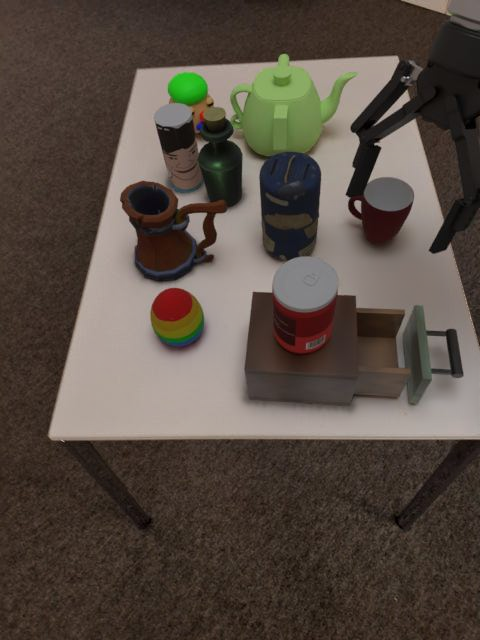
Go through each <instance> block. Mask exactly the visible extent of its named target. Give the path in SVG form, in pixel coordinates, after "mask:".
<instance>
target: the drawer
mask: <svg viewBox="0 0 480 640" xmlns="http://www.w3.org/2000/svg"><path fill="white" fill-rule="evenodd" d="M356 312H357V341H358V370H359V377H358V380H357V383H356V387H355V390H354V393H353V395H363V396H376V397H377V396H381V397H393V398H394V397H396V398H400V397H401V395H402V393H403V392H404V389H405V387H406V385H407V393H408V403H409V404H416V405H417V404H419V402H420V401H421V400H422V398H423V396H424V394H425V393H426V391H427V389H428V387H429V386H430V384H431V382H432V380H433V375H440V376H441V375H443V376H451V378H454V379H461V378H463V377H464V375H465V374H464V368H463V361H462V355H461V349H460V344H459V338H458V332H457V329H456V328H448V329H446V330H430V329H429V330H428V329H427V325H426V318H425V309H424V305H421V304H420V305H419V304H414V306H413V307H412V309H411V313H410V315H409V318H408V320H407V323H406V325H405V328H404V330H403V333H402V340H403V351H404V360H405V367H399V358H398V347H397V336H398V334H399V331H400V329H401V327H402V323H403V321H404V318H405V316H406V309H396V308H394V309H393V308H372V307H371V308H370V307H356ZM428 337H442V338H443V337H444V338H445V342H446V349H447V354H448V362H449V368H432V366H431V365H432V364H431V357H430V351H429V342H428Z"/></svg>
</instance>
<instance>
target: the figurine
mask: <svg viewBox="0 0 480 640" xmlns="http://www.w3.org/2000/svg"><path fill="white" fill-rule="evenodd" d="M167 94H168V95H169V97H170V98H169V100H168V104H171V103H180V104H184V105H187V106H188V107H189V108H190V109H191V112H192V117H193V123H194V129H195V134H200V129H201V125H202V123H203V122H204V121H205V119H204V117H203V113H204V111H205V110H207V109H209V108H212V107H215V101H214V99H213V97H211V94H209V86H208V83H207V81H206V80H205V78H204V77H203V76H201V75H200V74H198V73H197V72H189V71H183V72H180V73H177V74H176V75H174V76H173V77H172V78H171V79H170V80H169V81H168V84H167Z"/></svg>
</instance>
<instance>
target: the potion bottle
mask: <svg viewBox="0 0 480 640" xmlns="http://www.w3.org/2000/svg"><path fill="white" fill-rule="evenodd" d="M203 117H204V119H205V121H204V122H203V123H202V125H201V129H200V132H199V136H200V138H201V139H202V140H203V141H204V142H207V143H205V144H204V145H203V146H202V147H201V148H200V150H199V151H198V152H199V155H198V162H199V166H200V169H201V173H202V176H203V183H204V187H205V190H206V194H207V197H208V199H209V203H211V202H217V201H219V200H224V201H225V202H226V203H227V208H229V207H232V206H234V205H236V204H238V203H239V201H240V200H241V199H242V195H243V159H244V158H243V157H244V156H243V155H244V154H243V152H242V150H241V148H240V146H239V145H238V144H237V143H235V142H234V141H232V140H230V138H231V137H232V136H233V135H234V132H235V128H233V126H232V124H231V122H230V120H229V119H228V118H226V117H227V111H226V110H225V109H224V108H223V107H220V106H214V107H212V108H209V109H207V110H205V111H204V113H203Z"/></svg>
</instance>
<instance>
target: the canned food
mask: <svg viewBox="0 0 480 640" xmlns="http://www.w3.org/2000/svg"><path fill="white" fill-rule="evenodd" d="M339 284H340V283H339V276H338V273H337V271H336V269H335V268H334V267H333V266H332V265H331V264H330V263H328V262H327V261H326V260H324V259H322V258H319V257H315V256H309V255H307V256H305V257H297V258H294V259H291V260H289V261H285V262H284V263H283V264H281V265H280V266H279V267H278V268H277V269H276V271H275V273H274V275H273V278H272V284H271V285H272V286H271V292H272V300H273V325H274V334H275V337H276V339H277V341H278V342H279V344H280V345H281V346H282V347H283V348H284V349H286V350H288V351H289V352H292V353H295V354H308V353H312V352H314V351H317V350H318V349H320V348H321V347H322V346H323V345H324V344H325V343H326V342H327V340H328V339H329V337H330V334H331V330H332V324H333V318H334V312H335V306H336V300H337V295H339V294H338V293H339Z"/></svg>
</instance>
